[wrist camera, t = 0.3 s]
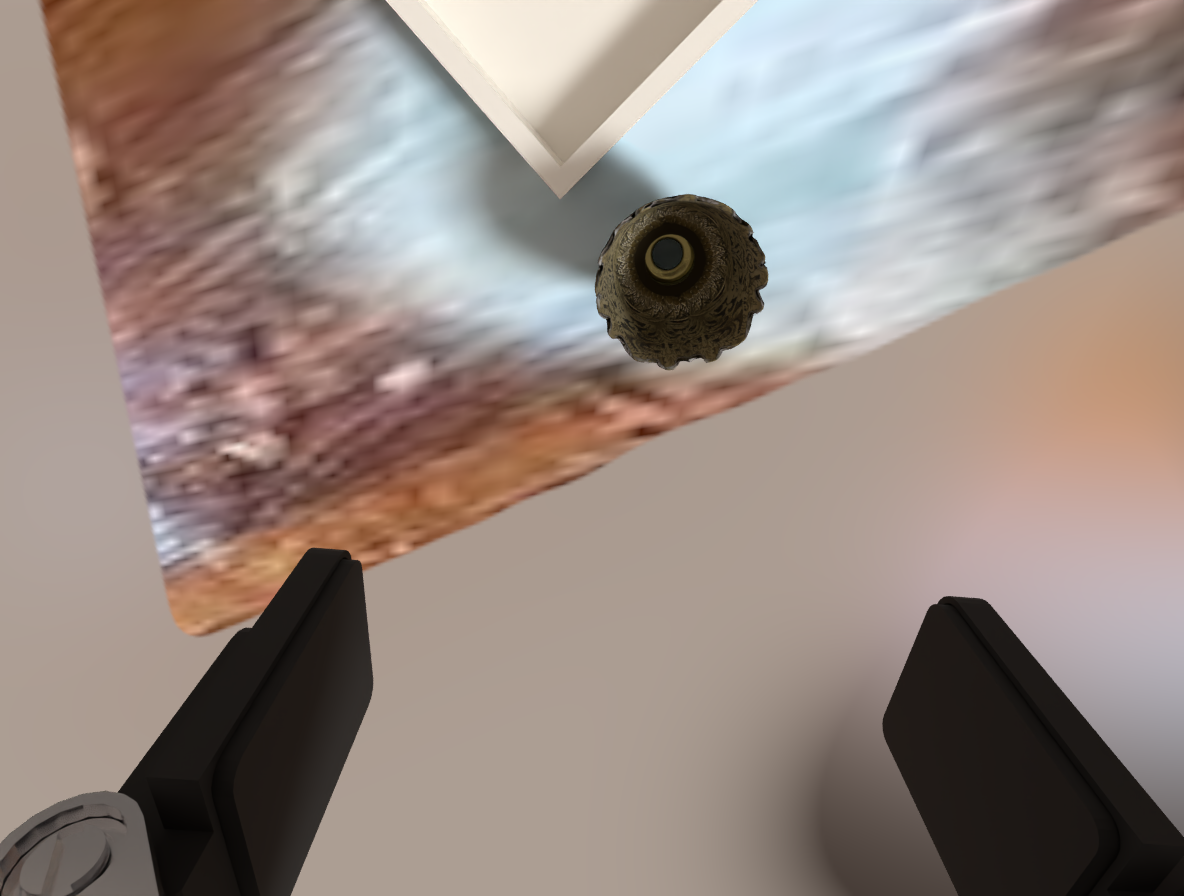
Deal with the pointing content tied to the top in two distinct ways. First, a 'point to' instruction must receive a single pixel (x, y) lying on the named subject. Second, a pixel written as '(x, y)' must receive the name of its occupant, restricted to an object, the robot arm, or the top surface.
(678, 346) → the ornate bronze bell
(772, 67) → the top surface
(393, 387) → the top surface
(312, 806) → the robot arm
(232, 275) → the top surface
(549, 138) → the tray
